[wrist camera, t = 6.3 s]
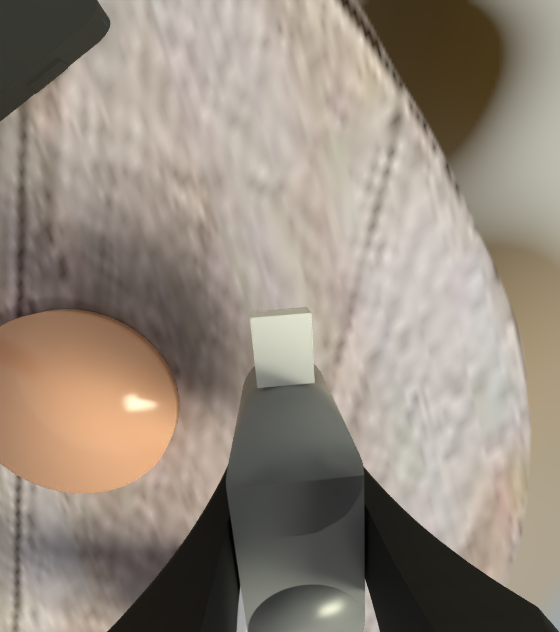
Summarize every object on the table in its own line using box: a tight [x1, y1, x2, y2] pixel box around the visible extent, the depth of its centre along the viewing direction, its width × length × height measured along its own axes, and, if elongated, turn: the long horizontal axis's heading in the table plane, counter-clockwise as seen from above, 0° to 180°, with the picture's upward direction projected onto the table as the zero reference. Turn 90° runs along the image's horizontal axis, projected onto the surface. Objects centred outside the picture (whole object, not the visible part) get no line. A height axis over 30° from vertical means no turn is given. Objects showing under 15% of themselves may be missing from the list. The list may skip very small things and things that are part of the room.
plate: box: [0, 309, 179, 493], centre depth 19 cm, size 14×14×1 cm
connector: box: [226, 307, 365, 632], centre depth 10 cm, size 12×4×5 cm, turn 4°
